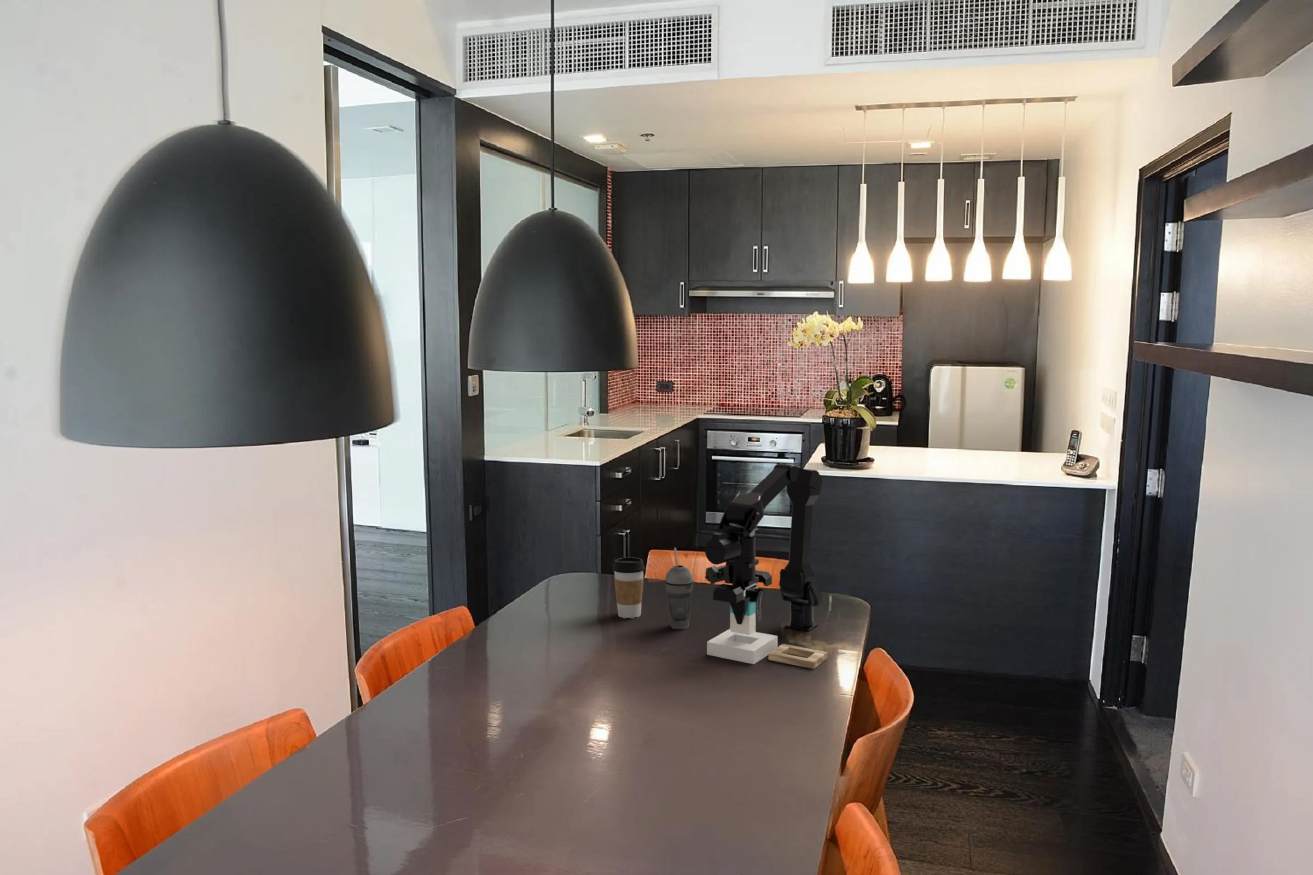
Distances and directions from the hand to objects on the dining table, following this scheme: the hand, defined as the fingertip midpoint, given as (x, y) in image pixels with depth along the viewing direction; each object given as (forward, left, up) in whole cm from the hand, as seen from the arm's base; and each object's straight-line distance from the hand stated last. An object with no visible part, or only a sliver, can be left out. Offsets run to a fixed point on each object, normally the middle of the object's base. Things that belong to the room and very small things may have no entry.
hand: (742, 622), depth 216 cm
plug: (0, 0, -2) cm, 2 cm away
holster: (-2, +13, -7) cm, 15 cm away
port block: (0, 0, -7) cm, 7 cm away
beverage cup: (-8, -22, -7) cm, 24 cm away
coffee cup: (-9, -38, -7) cm, 40 cm away
